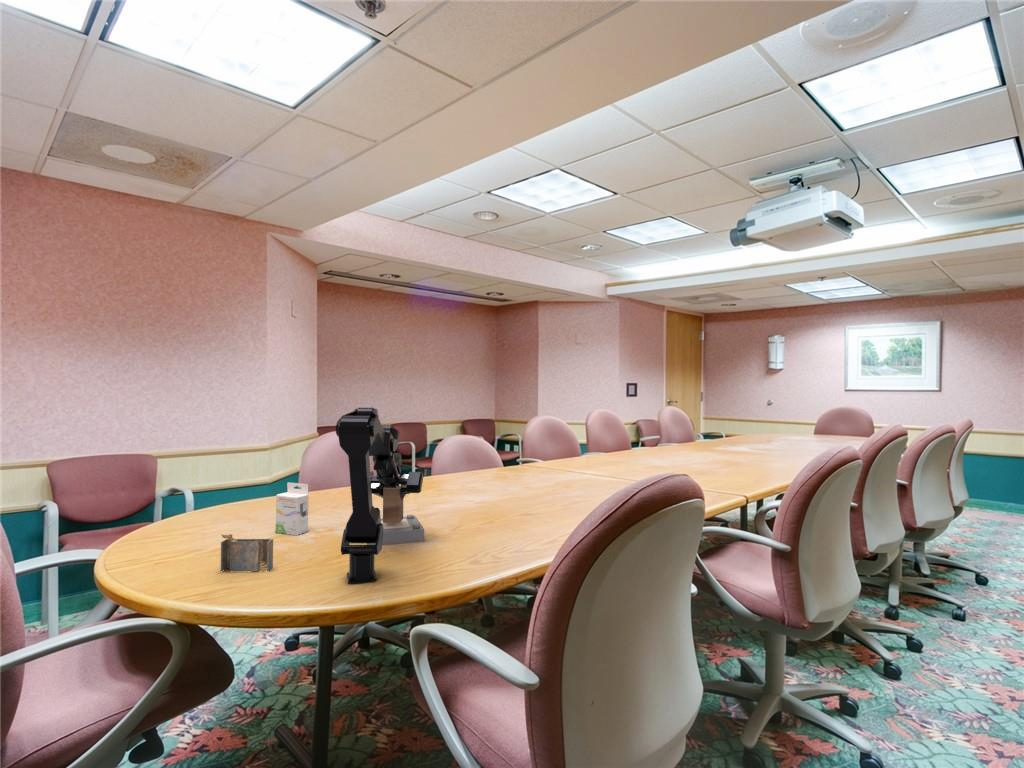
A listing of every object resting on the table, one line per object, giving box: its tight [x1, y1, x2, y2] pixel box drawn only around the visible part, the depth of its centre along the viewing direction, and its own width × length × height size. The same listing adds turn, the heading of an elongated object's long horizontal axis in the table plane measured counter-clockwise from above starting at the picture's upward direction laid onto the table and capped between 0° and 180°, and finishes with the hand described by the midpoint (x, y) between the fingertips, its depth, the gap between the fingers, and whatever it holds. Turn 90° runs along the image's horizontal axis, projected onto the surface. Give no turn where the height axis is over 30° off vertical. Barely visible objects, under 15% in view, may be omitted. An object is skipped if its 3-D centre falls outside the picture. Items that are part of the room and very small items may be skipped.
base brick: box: [366, 514, 425, 546], centre depth 158 cm, size 16×16×4 cm
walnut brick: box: [382, 485, 404, 523], centre depth 158 cm, size 5×5×10 cm
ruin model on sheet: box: [220, 533, 274, 573], centre depth 128 cm, size 11×3×10 cm, turn 92°
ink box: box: [275, 481, 309, 536], centre depth 161 cm, size 9×5×15 cm, turn 71°
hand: (394, 497), depth 159 cm, fingers closed on walnut brick, 5 cm apart
